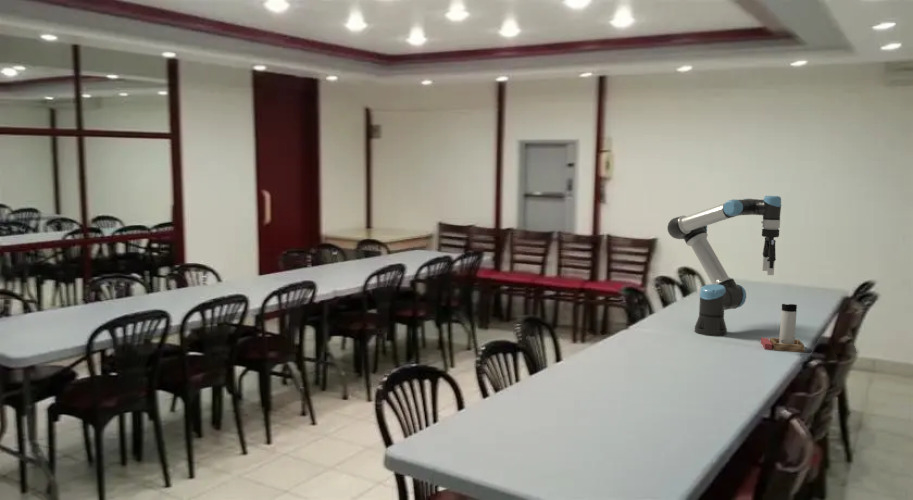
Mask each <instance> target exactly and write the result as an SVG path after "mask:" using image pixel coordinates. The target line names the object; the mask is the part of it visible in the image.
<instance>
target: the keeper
mask: <svg viewBox="0 0 913 500" xmlns="http://www.w3.org/2000/svg"><path fill="white" fill-rule="evenodd" d="M779 338H780V337H770V338H769V340H770V342H771V343H772V350H773V351H775V352H776V351H777V352H790V353H806V350H805V344H804V343H803V342H802V341H801V340H800V339H797V338H795V341H794V344H782V343H779Z"/></svg>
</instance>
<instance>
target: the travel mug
mask: <svg viewBox="0 0 913 500" xmlns="http://www.w3.org/2000/svg"><path fill="white" fill-rule="evenodd" d="M797 309H798V305H797V304H794V303H788V304H786V303H782V304H781V309H780V310H781V313H780V324H779V325H780V326H779V327H780V328H779V337H778V338H779V343H782V344H794V341H795V339H796V325H797Z"/></svg>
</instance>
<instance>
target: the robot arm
mask: <svg viewBox="0 0 913 500" xmlns="http://www.w3.org/2000/svg"><path fill="white" fill-rule="evenodd" d="M781 209H782V197H781V196H779V195H765V196H764V197H763V199H756V198H743V199H730V200H727V201H725V202H724V203H723V204H719V205H715V206H713V207H710V208H706V209H704V210H701V211H698V212H695V213H692V214H689V215H687V216H686V215H680V216H677V217H673V218H671V219H670V221H669V222H668V224H667V227H666V228H667V232H668V235H670V237H672V238H673V239H676V240H684V241H685V244H686V246H689V247H691V248H692V250H693V252H694V254H695V255H696V257H697V259H698V261H699V263H700V264H701V267H702V268H703V269H704V272H705V273H706V275H707V276H708V279H709V280H710V283H711V284H705V285H703V286H702V287H701V288H700V292H699V308H698V310H699V311H698V318H697V321H696V322H695V325H694V332H695V333H697V334H701V335H702V336H703V335H704V336H712V337H713V336H714V337H715V336H716V337H719V336H726V335H727V334H728V328H727V325H726V321H725V311H726V310H734V309H738V308H740V307H742V306H743V305H744V304H745V303H746V301H747V291H746V289H745V288H744V287H743V286H742V285H740V284H737V283H736V282H735V279H734V278H733V277H730V276H729V275H728V273H727V272H726V270H725V268H724V267H723V264H722V263H721V261H720V259H719V257H718V256H717V254H716V252H715V251H714V249H713V248H712V246H711V244H710V243H709V242H710V241H708V239H707V238H708V226H709V225H712V224H716V223H718V222H721V221H722V222H723V221H726V220H728V219H732V218H735V217H738V216H762V221H761V224H762V229H761V237H764V244H763V249H762V256H763V258H762V271H763V272H767V273H766V275H767V276H774V275H775V263H776V262H775V261H776V260H777V259H776V258H777V257H776V242H777V241H776V239H774V238H779V237H780V227H781V226H780V225H781V213H782V212H781V211H782V210H781Z"/></svg>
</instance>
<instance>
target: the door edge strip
mask: <svg viewBox="0 0 913 500" xmlns="http://www.w3.org/2000/svg"><path fill="white" fill-rule="evenodd" d="M760 344H761V346H762V345H763V346H762V348H763V349H764V350H766V351H767V350H768V351H772V350H773V349H772V343H771V342H770V338H768V337H760Z"/></svg>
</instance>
